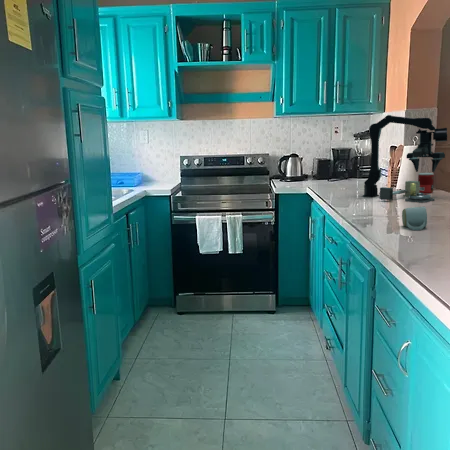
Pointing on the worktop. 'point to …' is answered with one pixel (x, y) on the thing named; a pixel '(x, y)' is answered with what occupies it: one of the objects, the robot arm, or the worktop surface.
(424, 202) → the wheel base
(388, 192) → the block-headed metal hammer
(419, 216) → the ceramic mug
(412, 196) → the handwheel
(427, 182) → the canned food
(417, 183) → the grey-green hollow piece
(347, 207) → the worktop surface
